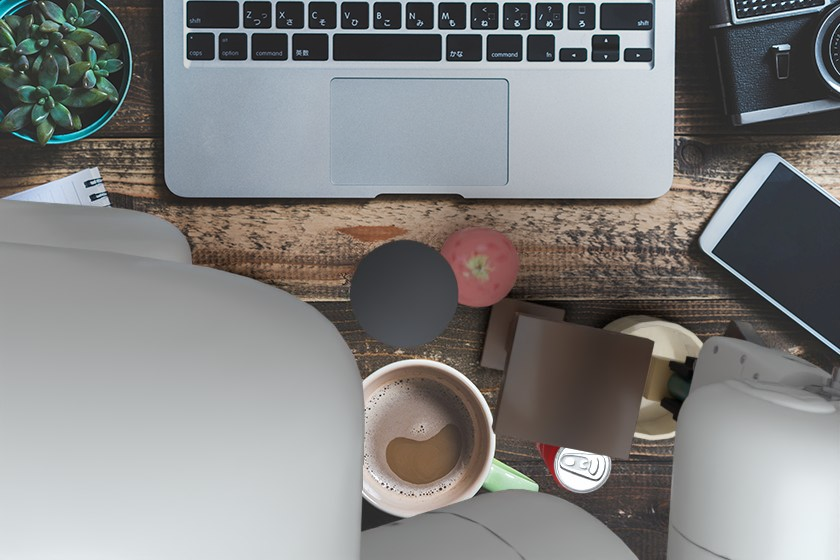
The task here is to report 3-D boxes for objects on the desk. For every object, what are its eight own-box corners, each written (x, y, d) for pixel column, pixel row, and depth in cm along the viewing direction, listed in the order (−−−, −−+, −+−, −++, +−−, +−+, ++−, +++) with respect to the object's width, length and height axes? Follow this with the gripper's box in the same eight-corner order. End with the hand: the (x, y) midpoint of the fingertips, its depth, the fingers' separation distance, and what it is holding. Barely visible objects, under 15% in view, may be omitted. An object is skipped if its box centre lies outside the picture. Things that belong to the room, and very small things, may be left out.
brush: (636, 392, 58) (676, 419, 50) (645, 353, 58) (687, 372, 49) (693, 404, 58) (742, 433, 50) (702, 364, 58) (753, 386, 49)
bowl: (572, 413, 67) (584, 427, 62) (595, 305, 67) (609, 310, 62) (680, 434, 68) (700, 450, 63) (704, 326, 67) (727, 334, 62)
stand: (468, 367, 67) (493, 434, 44) (484, 288, 67) (518, 314, 44) (557, 385, 67) (628, 460, 44) (574, 306, 67) (655, 341, 44)
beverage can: (573, 455, 68) (606, 501, 56) (523, 445, 68) (545, 489, 56) (585, 404, 67) (620, 440, 55) (534, 394, 67) (558, 428, 55)
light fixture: (392, 317, 67) (376, 365, 42) (364, 255, 66) (332, 266, 42) (454, 290, 67) (475, 322, 42) (427, 228, 66) (432, 222, 41)
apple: (428, 292, 67) (429, 300, 59) (446, 219, 66) (449, 217, 58) (501, 310, 67) (512, 320, 59) (519, 237, 66) (533, 237, 58)
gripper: (786, 301, 36) (658, 279, 55) (720, 588, 37) (616, 472, 56) (921, 328, 36) (749, 297, 55) (852, 613, 37) (705, 489, 56)
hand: (683, 386), depth 55 cm, fingers closed on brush, 2 cm apart
